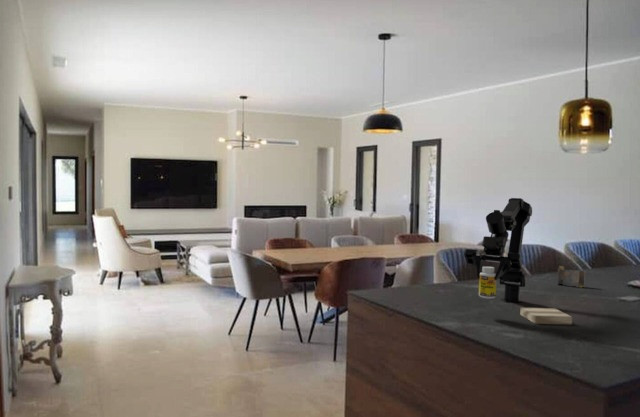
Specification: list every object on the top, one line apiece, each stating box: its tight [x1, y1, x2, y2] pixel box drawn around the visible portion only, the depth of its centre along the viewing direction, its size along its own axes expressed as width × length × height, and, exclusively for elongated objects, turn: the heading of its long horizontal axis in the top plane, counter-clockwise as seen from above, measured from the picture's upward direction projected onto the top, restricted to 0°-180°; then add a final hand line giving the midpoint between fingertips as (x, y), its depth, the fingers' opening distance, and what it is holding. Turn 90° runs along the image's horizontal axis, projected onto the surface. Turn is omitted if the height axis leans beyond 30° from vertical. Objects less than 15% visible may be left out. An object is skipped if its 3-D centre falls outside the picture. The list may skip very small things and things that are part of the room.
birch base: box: [519, 307, 573, 325], centre depth 175 cm, size 12×12×2 cm
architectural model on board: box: [556, 265, 586, 288], centre depth 242 cm, size 11×3×10 cm, turn 64°
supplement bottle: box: [478, 265, 497, 299], centre depth 176 cm, size 6×6×10 cm
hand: (486, 278), depth 175 cm, fingers closed on supplement bottle, 5 cm apart
